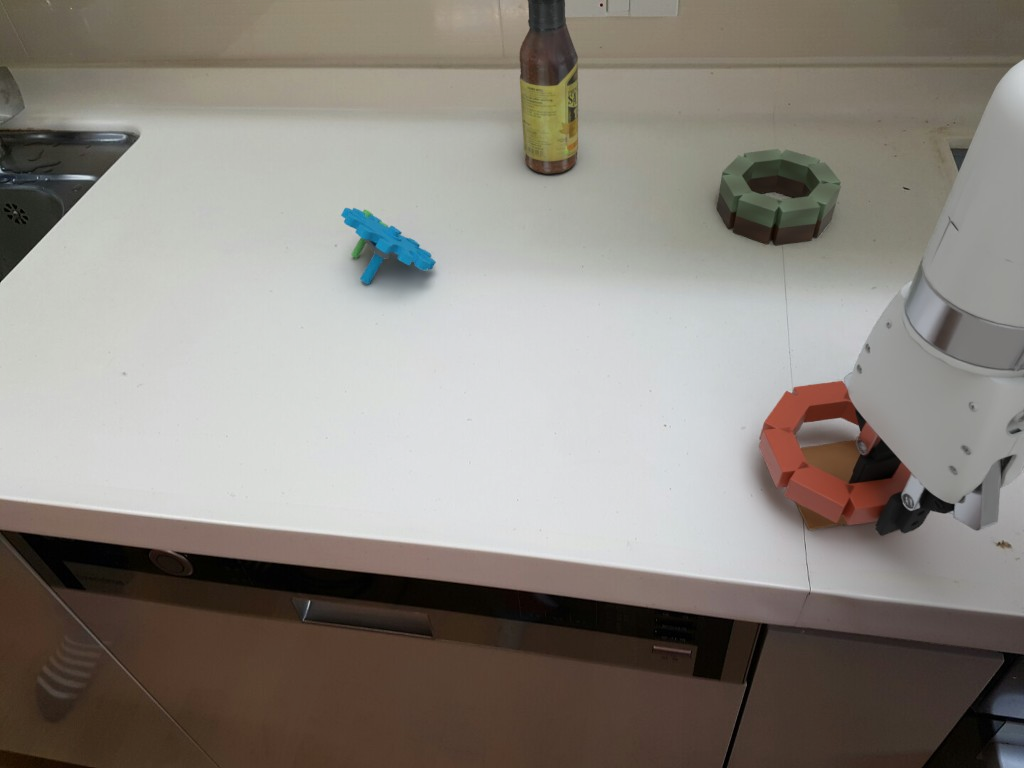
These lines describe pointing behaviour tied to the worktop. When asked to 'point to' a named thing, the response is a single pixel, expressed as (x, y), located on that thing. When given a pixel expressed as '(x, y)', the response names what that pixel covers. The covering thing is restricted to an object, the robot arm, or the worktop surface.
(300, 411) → the worktop surface
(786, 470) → the terracotta ring
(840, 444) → the cork mat
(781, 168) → the ring stack
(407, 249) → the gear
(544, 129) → the sauce bottle
